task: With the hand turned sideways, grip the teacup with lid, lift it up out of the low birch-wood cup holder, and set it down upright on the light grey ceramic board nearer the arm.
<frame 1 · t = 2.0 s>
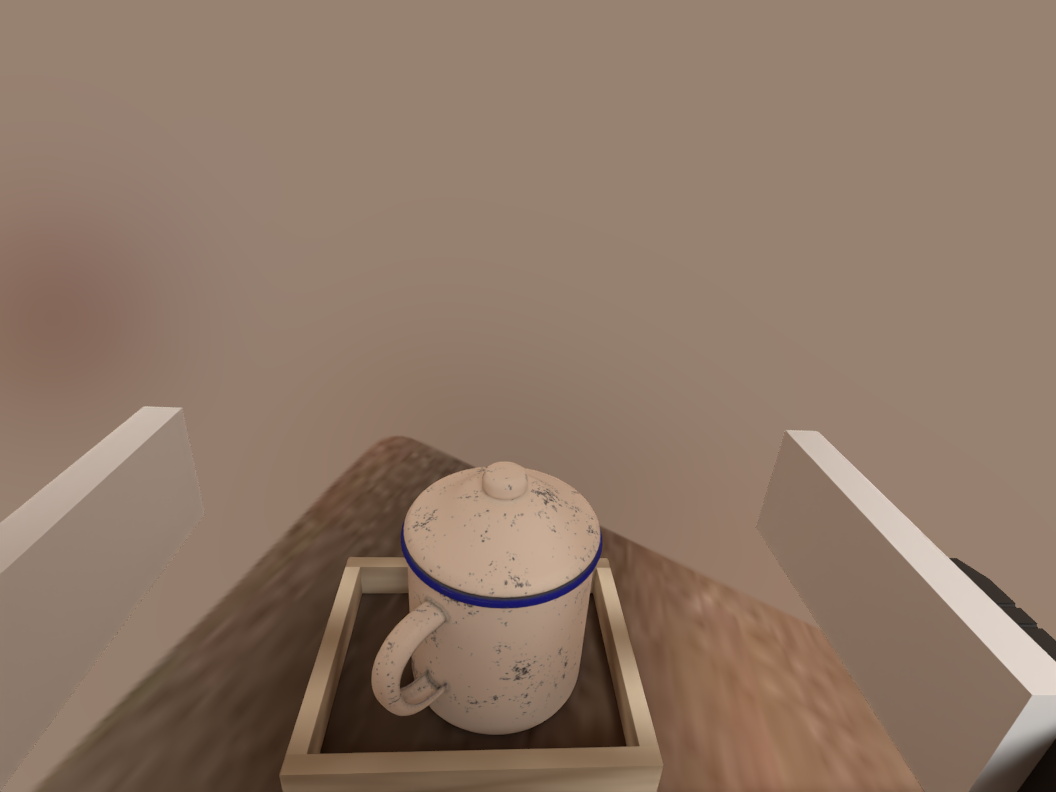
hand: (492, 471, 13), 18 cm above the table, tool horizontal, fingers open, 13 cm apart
teacup with lid: (477, 680, 29), resting in cup holder
cup holder: (478, 671, 29), on the table
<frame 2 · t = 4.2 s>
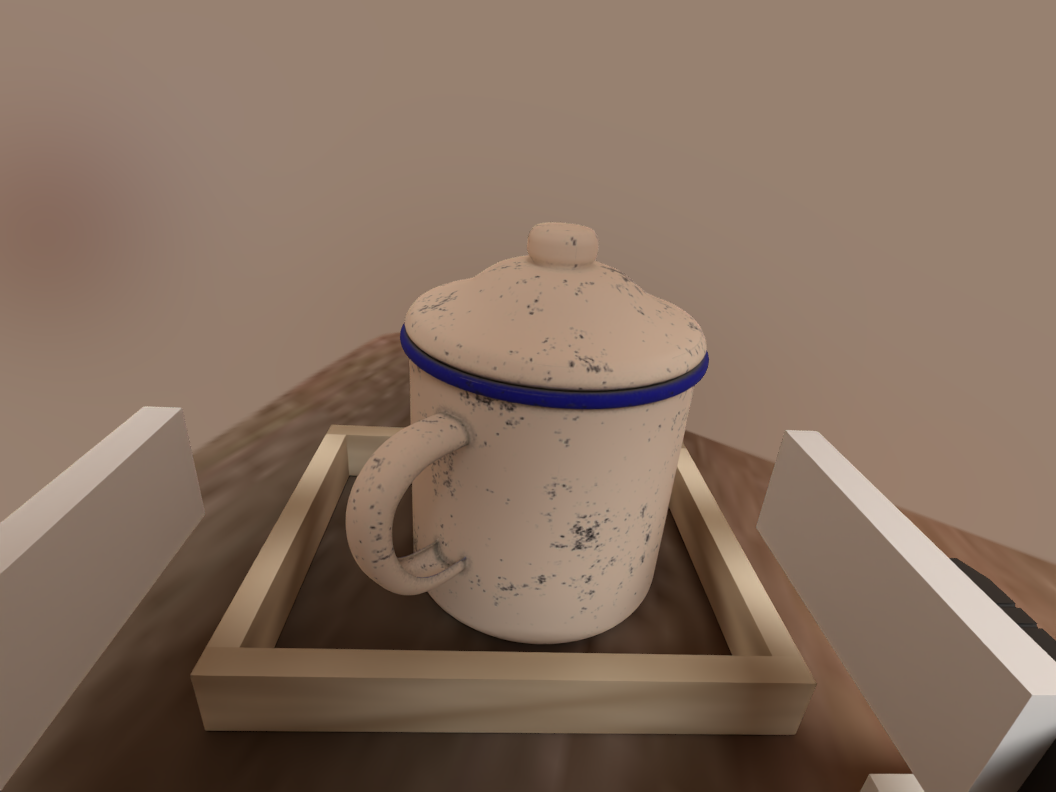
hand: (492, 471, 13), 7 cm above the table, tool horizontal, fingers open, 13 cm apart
teacup with lid: (507, 578, 20), resting in cup holder
cup holder: (508, 566, 20), on the table
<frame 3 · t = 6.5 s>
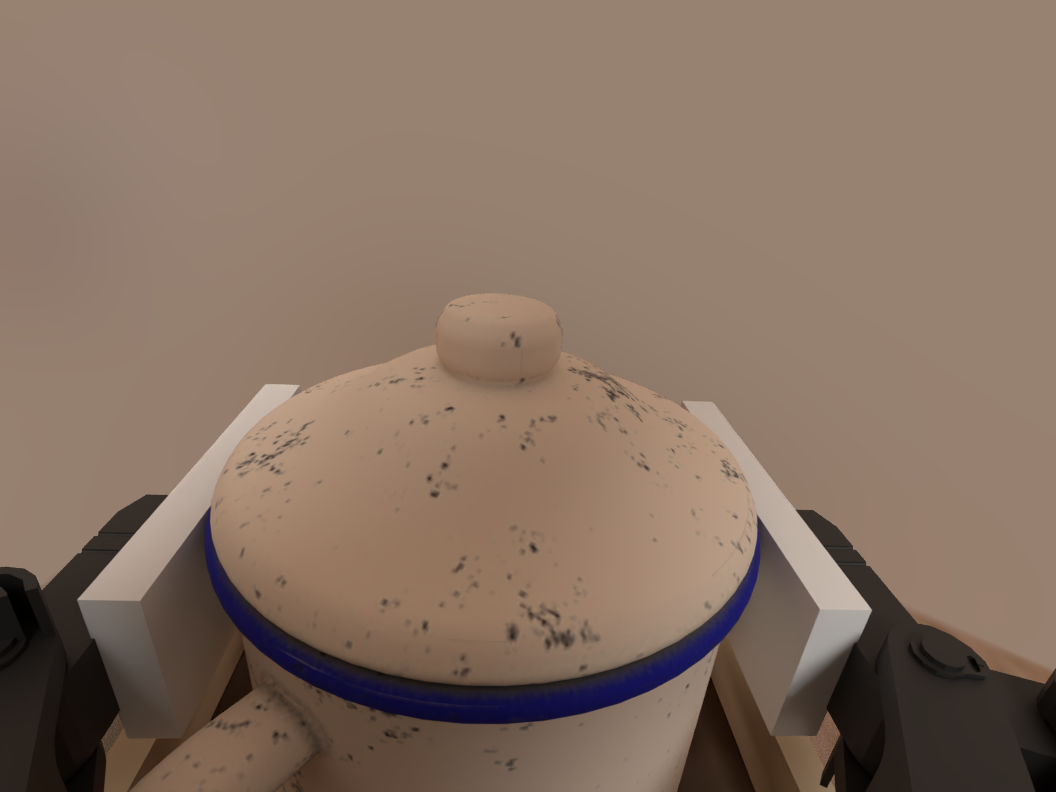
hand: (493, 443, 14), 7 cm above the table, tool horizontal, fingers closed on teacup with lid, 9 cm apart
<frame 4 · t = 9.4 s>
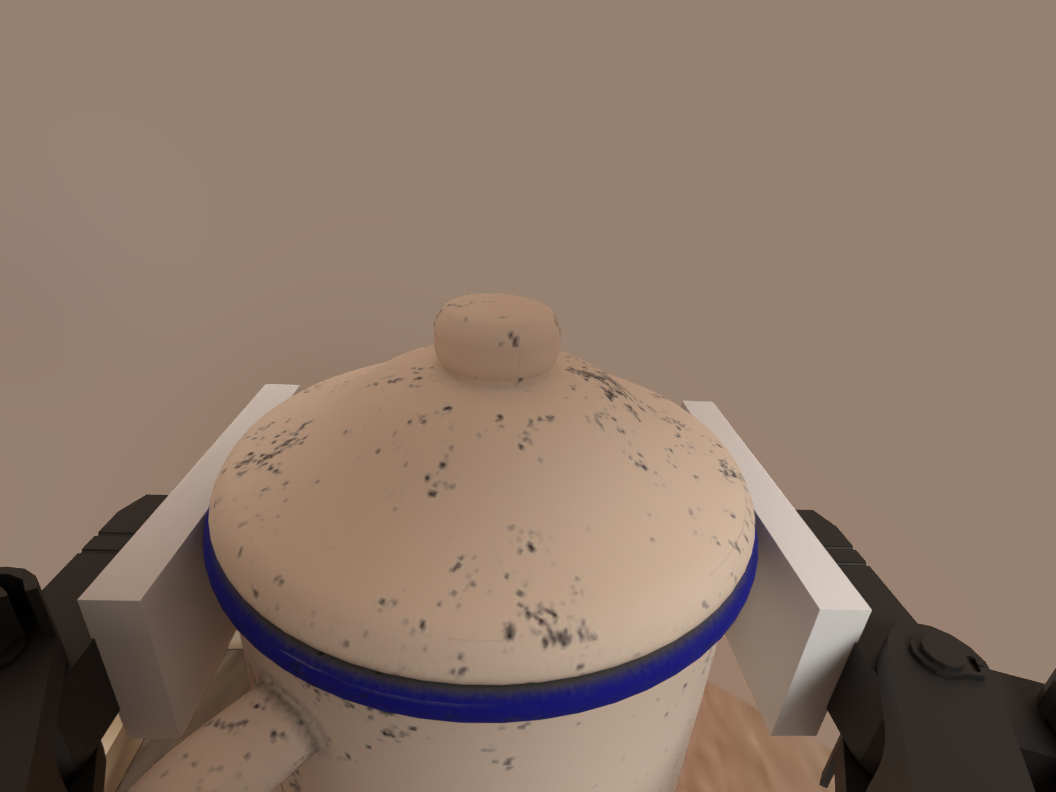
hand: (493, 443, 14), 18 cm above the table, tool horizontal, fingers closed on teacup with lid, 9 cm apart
cup holder: (302, 749, 25), on the table
when the fingers open (10 cm above the table, at t = 12.3 s): teacup with lid drops 1 cm, resting on ceramic board.
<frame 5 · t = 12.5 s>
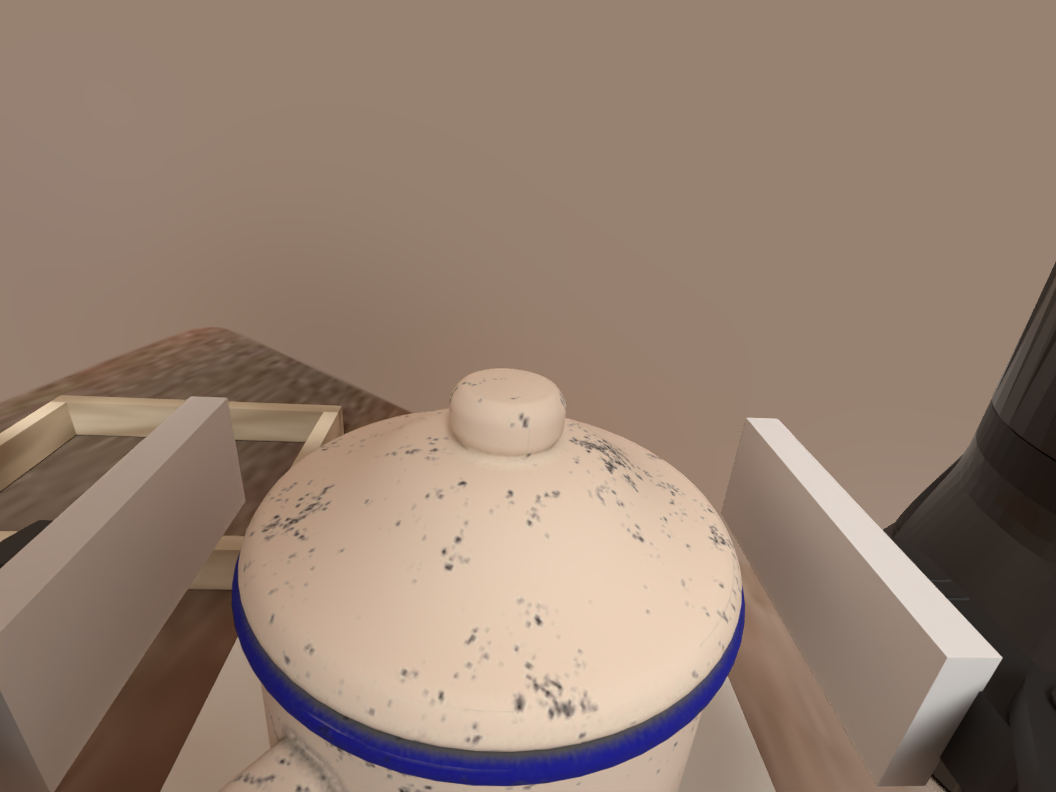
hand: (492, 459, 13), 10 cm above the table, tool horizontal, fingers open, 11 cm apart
cup holder: (152, 493, 27), on the table
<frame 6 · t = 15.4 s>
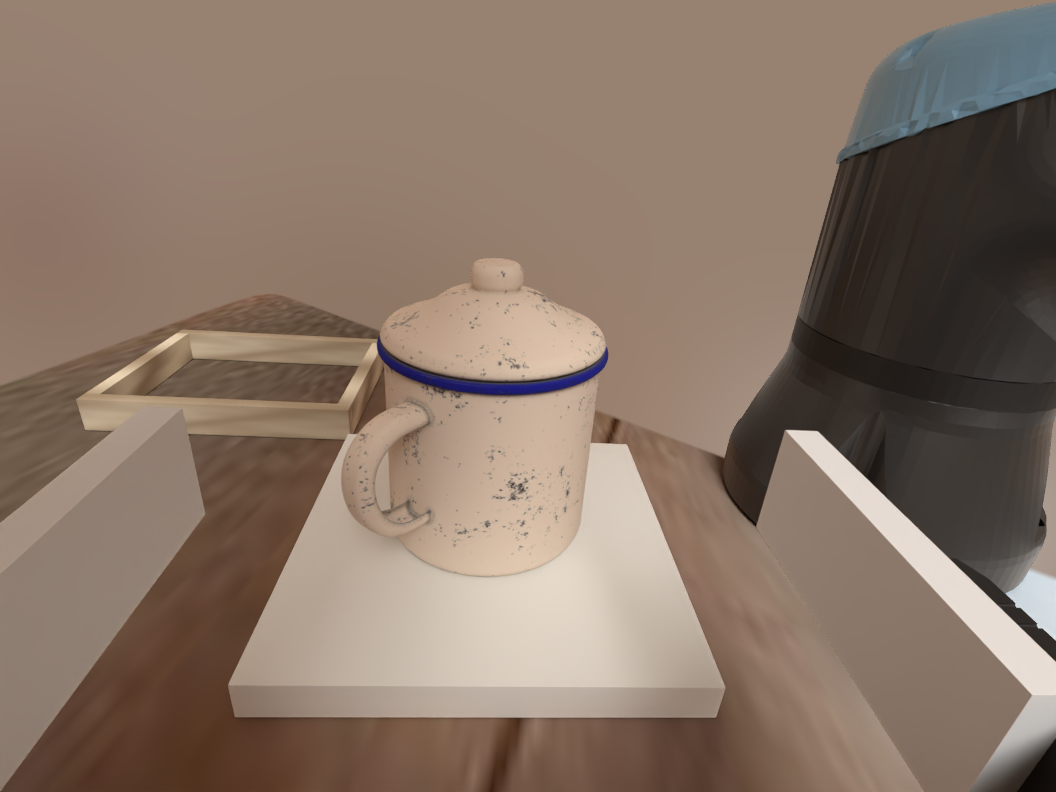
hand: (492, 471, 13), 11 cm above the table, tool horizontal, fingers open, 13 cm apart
teacup with lid: (466, 534, 25), point 1 cm above the table, touching ceramic board
cup holder: (258, 391, 39), on the table
ceramic board: (486, 554, 26), on the table
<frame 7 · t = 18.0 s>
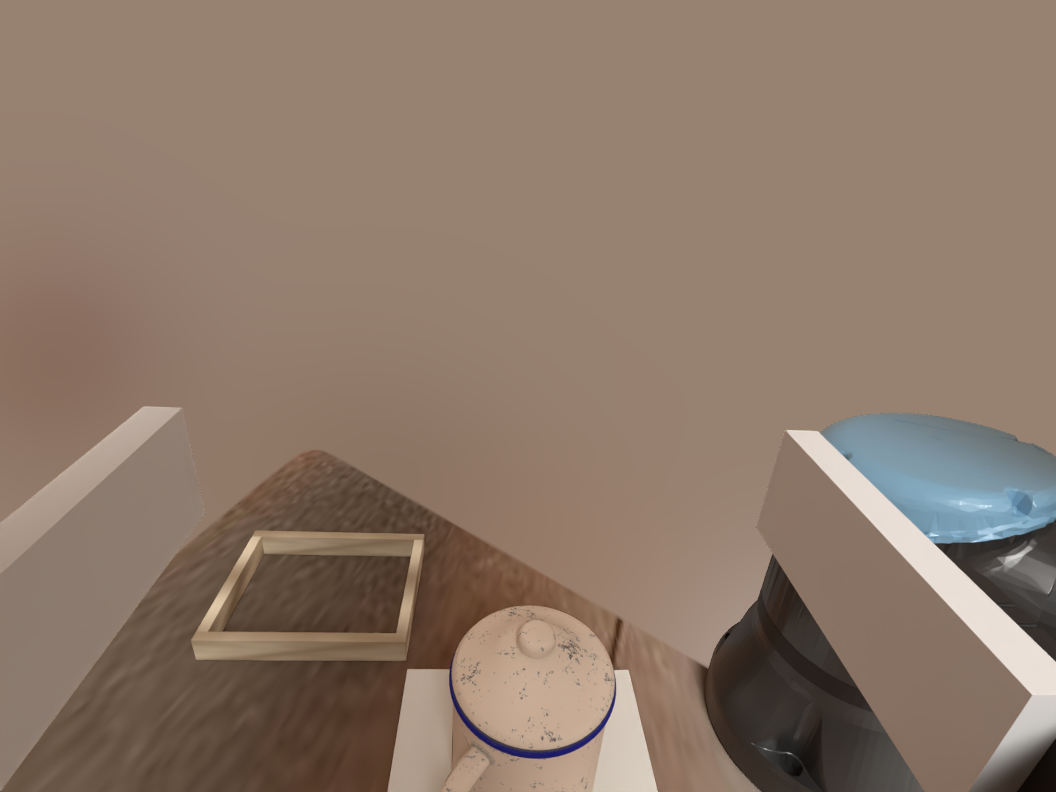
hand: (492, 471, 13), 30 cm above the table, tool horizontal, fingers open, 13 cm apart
teacup with lid: (508, 791, 34), point 1 cm above the table, touching ceramic board
cup holder: (324, 598, 48), on the table
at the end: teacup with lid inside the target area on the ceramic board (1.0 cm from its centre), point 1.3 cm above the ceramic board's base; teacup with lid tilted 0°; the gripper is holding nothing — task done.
